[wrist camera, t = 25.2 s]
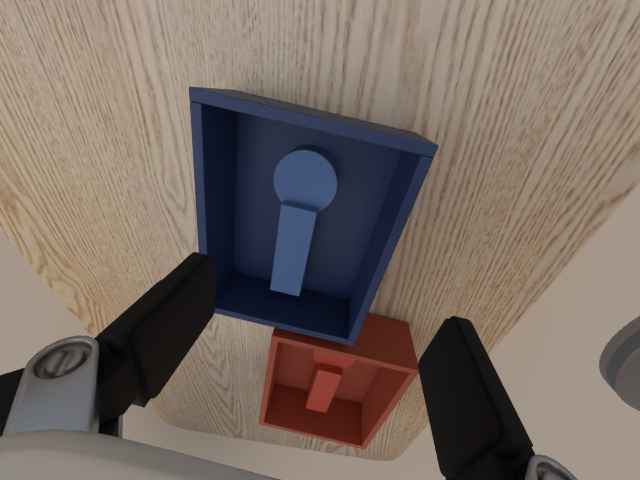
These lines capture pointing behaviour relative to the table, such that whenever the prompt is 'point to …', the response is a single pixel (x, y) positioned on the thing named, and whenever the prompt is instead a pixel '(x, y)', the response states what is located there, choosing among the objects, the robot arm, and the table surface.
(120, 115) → the table surface
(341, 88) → the table surface
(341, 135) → the blue bin
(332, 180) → the blue spoon
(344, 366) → the red spoon
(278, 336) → the red bin
